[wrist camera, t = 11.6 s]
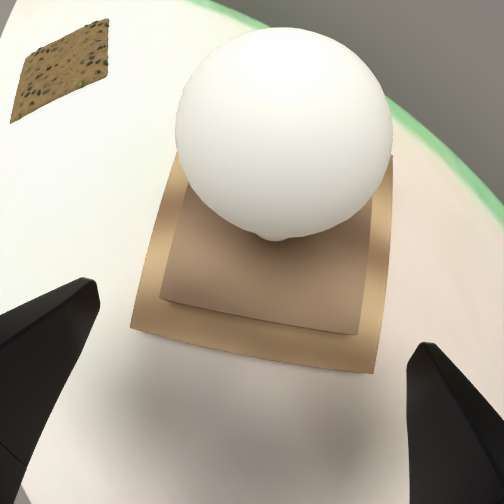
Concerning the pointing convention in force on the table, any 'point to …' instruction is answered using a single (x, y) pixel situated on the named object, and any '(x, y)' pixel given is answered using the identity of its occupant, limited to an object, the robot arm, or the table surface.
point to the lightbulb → (283, 132)
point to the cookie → (62, 68)
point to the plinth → (262, 333)
